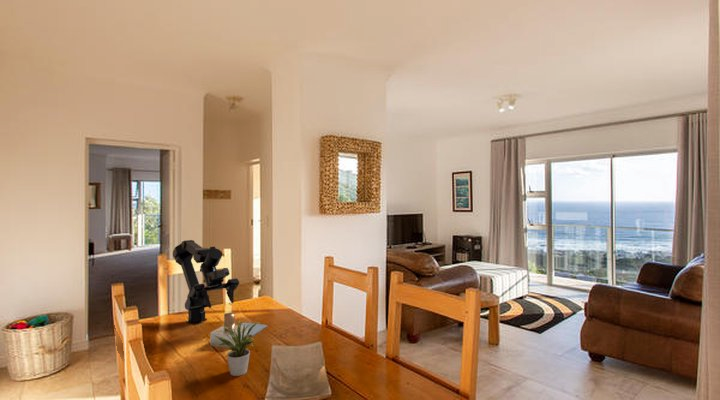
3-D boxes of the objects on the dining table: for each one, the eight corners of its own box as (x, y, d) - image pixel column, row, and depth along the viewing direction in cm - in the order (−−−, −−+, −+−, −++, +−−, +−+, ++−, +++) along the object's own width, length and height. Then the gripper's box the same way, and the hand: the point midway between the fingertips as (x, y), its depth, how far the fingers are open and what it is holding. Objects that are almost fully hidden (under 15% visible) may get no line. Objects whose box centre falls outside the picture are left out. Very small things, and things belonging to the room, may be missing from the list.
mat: (227, 333, 157) (227, 331, 157) (243, 323, 168) (243, 322, 168) (252, 336, 153) (252, 335, 153) (267, 326, 165) (267, 325, 165)
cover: (210, 345, 144) (210, 316, 143) (226, 336, 153) (226, 309, 153) (232, 348, 141) (232, 319, 141) (248, 338, 150) (248, 311, 150)
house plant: (247, 357, 133) (247, 311, 133) (271, 368, 125) (271, 319, 124) (209, 371, 122) (209, 321, 122) (233, 385, 114) (233, 331, 113)
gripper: (192, 264, 149) (204, 298, 141) (237, 259, 162) (250, 289, 154) (185, 281, 154) (196, 314, 147) (229, 274, 167) (240, 304, 160)
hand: (221, 305), depth 152 cm, fingers open, 9 cm apart
